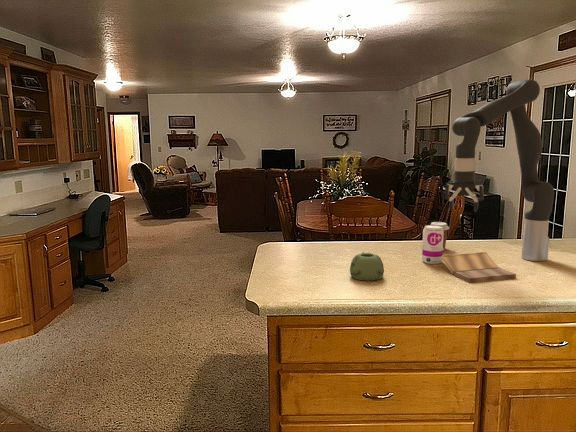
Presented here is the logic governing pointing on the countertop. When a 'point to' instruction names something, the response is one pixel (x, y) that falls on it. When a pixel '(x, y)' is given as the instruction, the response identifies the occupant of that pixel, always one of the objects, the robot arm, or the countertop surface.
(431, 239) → the supplement can
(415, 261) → the countertop surface
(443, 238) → the coffee cup
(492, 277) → the walnut board
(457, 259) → the oak plank
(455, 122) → the robot arm
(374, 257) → the green rounded vase
